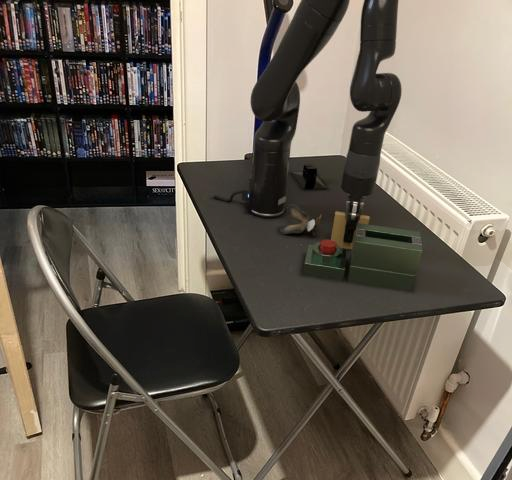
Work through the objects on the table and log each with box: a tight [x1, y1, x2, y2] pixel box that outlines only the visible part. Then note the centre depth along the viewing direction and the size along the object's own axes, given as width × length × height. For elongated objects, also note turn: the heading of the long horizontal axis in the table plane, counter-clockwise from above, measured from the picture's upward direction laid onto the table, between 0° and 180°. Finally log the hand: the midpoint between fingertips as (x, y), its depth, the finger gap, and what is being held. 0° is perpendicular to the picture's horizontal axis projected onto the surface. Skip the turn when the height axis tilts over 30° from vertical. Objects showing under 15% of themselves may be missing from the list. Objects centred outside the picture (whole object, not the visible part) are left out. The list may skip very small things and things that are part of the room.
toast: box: [330, 211, 371, 250], centre depth 136 cm, size 8×2×8 cm, turn 80°
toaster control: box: [302, 241, 348, 282], centre depth 129 cm, size 9×9×5 cm
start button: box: [319, 238, 336, 253], centre depth 127 cm, size 4×4×2 cm
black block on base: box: [291, 163, 327, 191], centre depth 168 cm, size 12×7×5 cm, turn 14°
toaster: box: [347, 223, 423, 292], centre depth 126 cm, size 14×9×10 cm, turn 80°
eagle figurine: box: [279, 203, 323, 238], centre depth 141 cm, size 8×7×9 cm
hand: (347, 239), depth 137 cm, fingers closed on toast, 1 cm apart
